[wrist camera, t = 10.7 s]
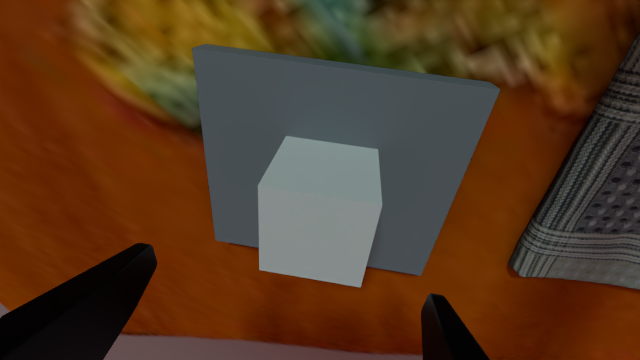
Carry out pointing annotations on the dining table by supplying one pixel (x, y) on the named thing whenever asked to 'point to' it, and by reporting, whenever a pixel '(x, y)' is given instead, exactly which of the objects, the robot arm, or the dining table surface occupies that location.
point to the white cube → (319, 210)
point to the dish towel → (594, 196)
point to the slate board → (339, 138)
